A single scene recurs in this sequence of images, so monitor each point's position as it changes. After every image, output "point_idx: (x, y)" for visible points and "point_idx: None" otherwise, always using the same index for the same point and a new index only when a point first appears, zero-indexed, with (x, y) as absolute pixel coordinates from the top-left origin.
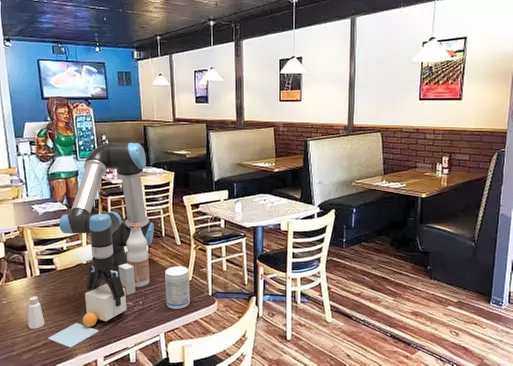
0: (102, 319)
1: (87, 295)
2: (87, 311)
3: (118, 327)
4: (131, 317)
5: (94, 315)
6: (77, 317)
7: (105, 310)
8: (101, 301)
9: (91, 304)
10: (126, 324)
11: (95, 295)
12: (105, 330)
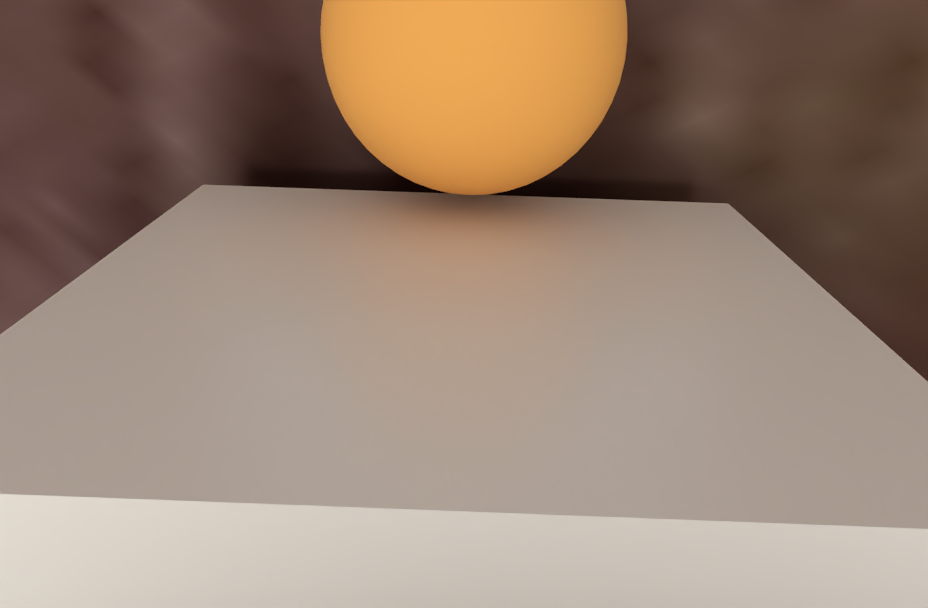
0: (293, 192)
1: (900, 484)
2: (728, 229)
3: (21, 207)
4: None
5: (357, 102)
6: (923, 155)
7: (90, 274)
8: (85, 401)
9: (617, 310)
10: (9, 323)
11: (466, 568)
12: (105, 34)
